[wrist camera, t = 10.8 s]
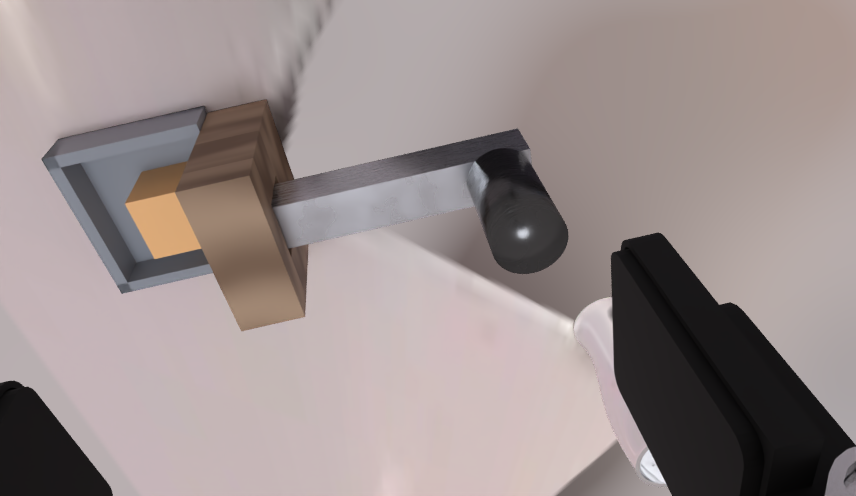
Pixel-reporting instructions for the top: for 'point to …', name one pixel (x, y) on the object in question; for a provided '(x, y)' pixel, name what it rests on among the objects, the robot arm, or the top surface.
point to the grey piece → (433, 198)
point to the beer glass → (614, 387)
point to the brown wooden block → (244, 215)
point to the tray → (125, 192)
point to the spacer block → (161, 212)
